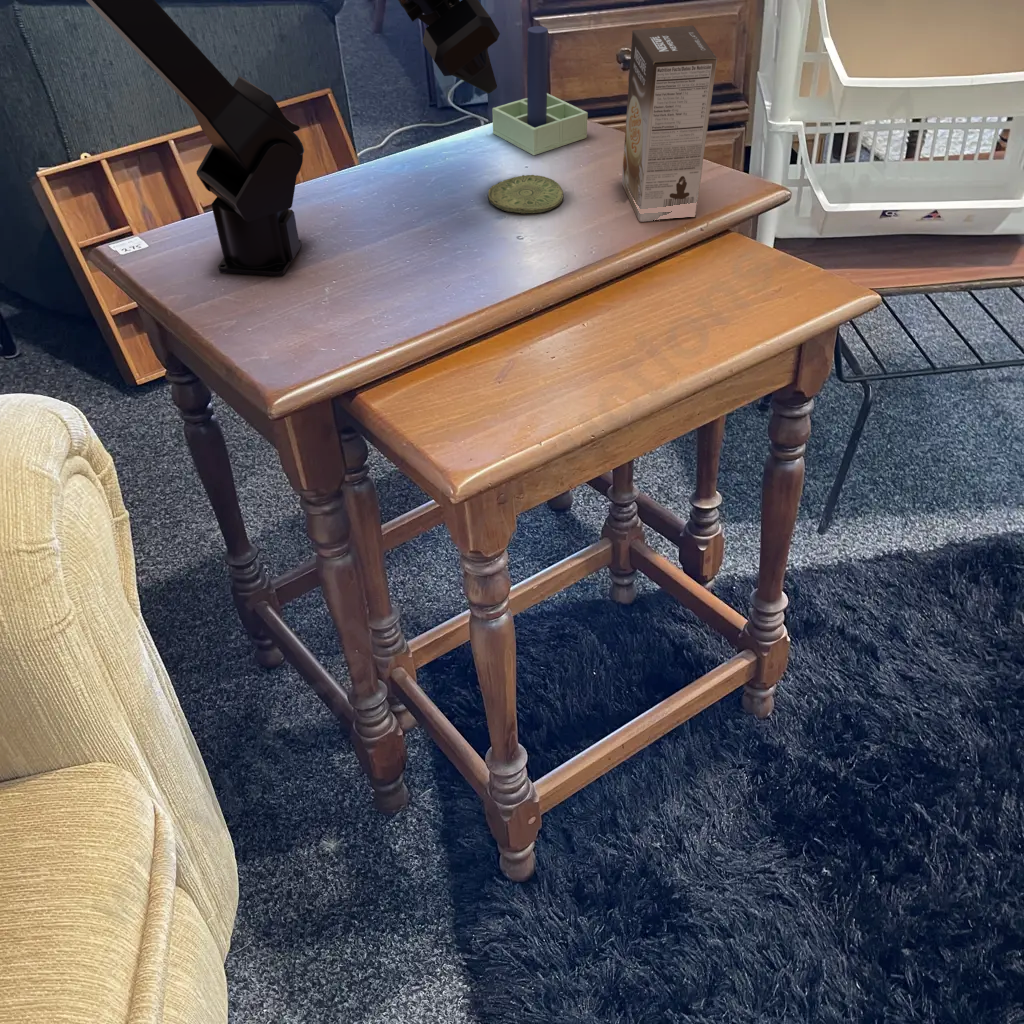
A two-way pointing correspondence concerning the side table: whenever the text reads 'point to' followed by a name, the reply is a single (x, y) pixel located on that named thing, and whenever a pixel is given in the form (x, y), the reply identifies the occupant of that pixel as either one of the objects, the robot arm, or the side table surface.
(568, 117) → the grid
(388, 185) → the side table surface
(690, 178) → the coffee box
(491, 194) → the medallion
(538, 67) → the tall navy cylinder rod
